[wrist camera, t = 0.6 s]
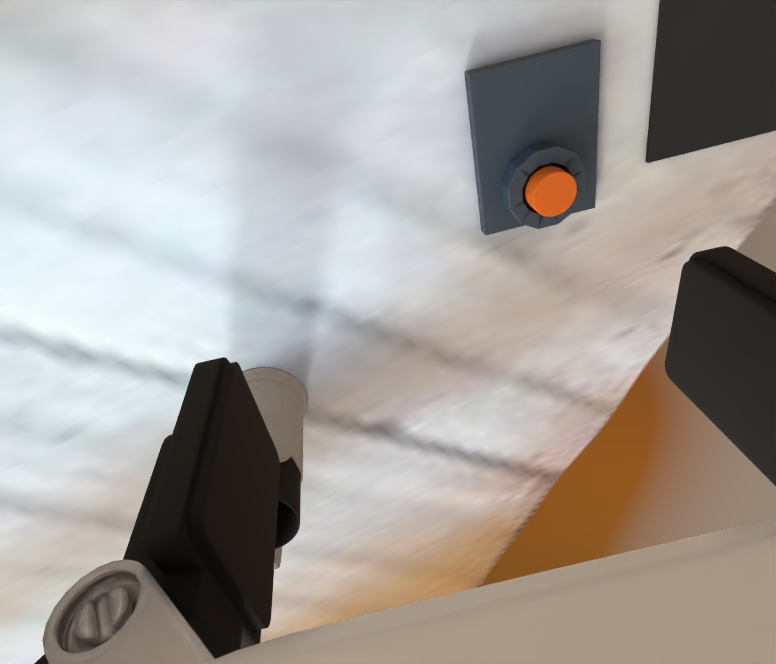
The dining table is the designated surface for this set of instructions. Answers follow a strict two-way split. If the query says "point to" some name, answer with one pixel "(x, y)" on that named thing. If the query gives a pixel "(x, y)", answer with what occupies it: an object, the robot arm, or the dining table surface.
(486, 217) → the grey button base
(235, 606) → the robot arm
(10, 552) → the dining table surface
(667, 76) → the desk pad
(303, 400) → the glass holder
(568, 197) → the button
